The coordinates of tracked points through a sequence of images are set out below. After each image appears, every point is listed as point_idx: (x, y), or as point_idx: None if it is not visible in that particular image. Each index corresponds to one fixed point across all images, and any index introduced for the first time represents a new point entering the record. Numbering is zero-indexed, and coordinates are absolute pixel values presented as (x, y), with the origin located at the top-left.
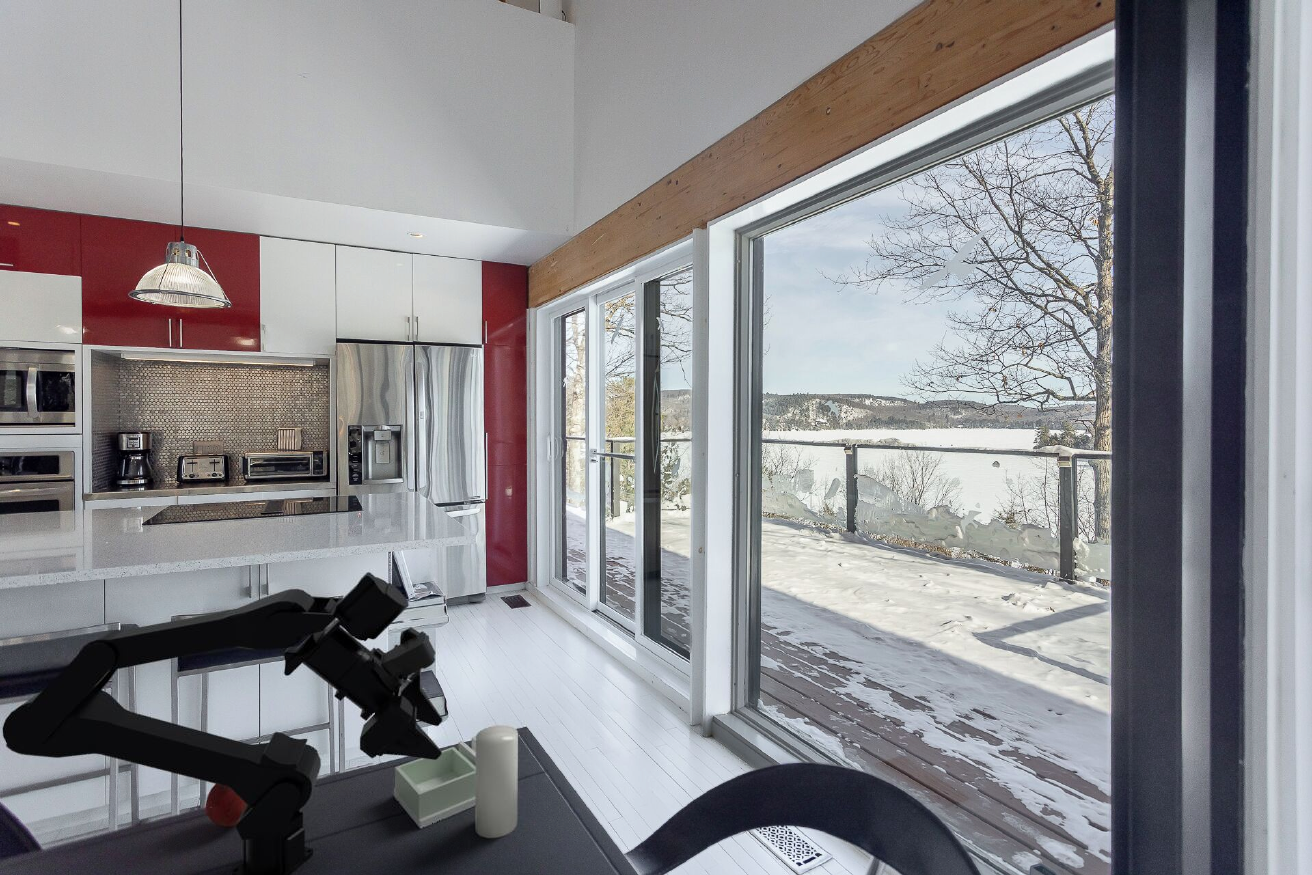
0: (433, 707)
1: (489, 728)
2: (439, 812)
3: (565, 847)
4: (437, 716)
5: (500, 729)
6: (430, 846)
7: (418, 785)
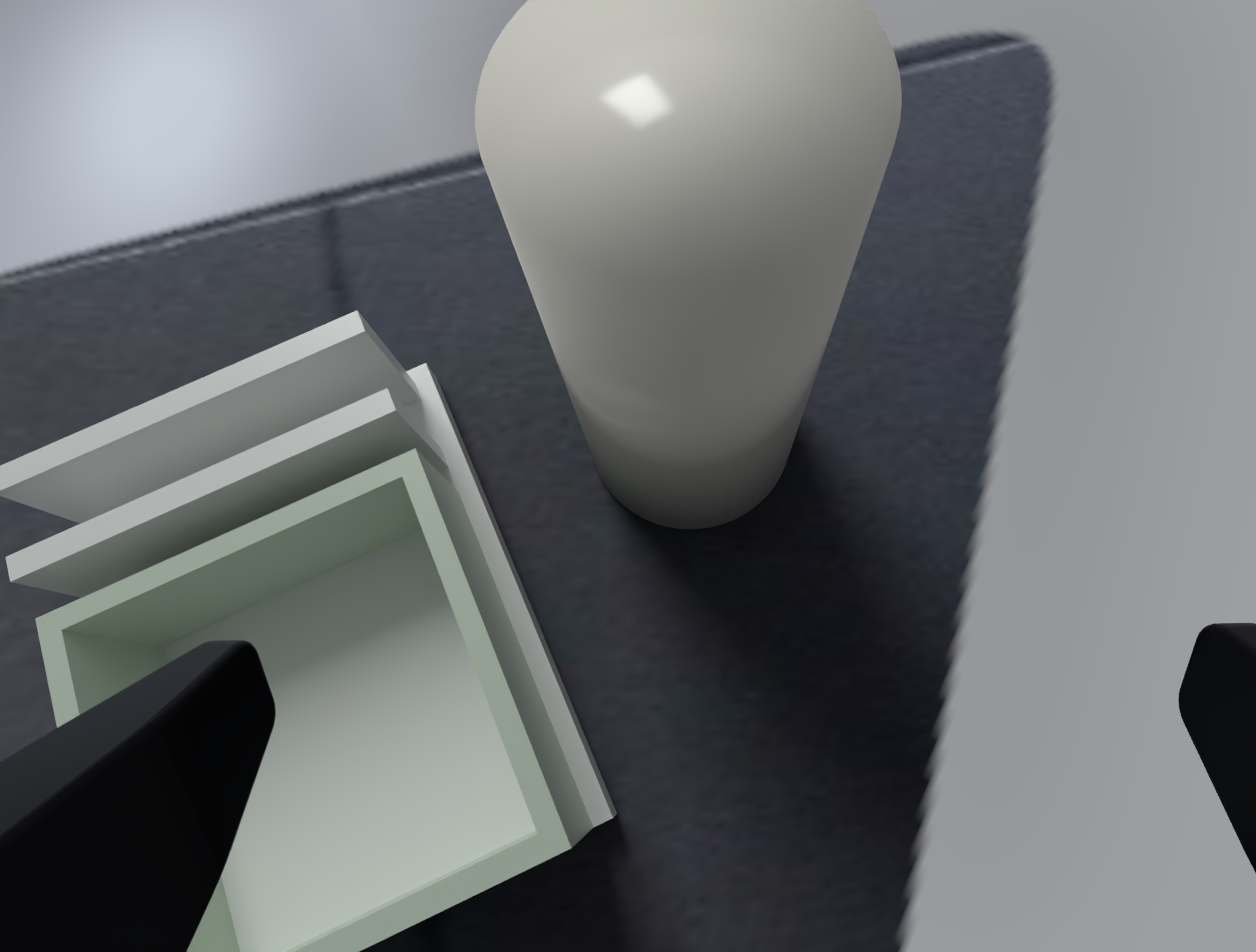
0: (33, 784)
1: (515, 159)
2: (557, 710)
3: (923, 171)
4: (197, 709)
5: (576, 66)
6: (784, 752)
7: (233, 848)
